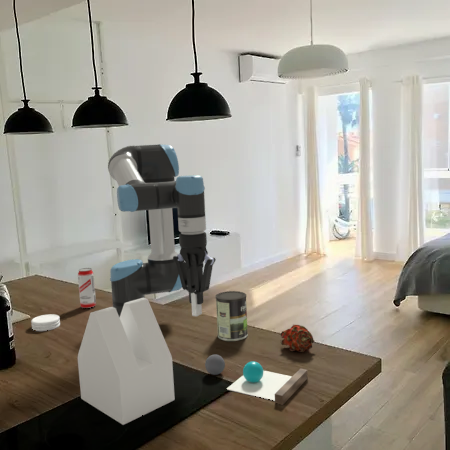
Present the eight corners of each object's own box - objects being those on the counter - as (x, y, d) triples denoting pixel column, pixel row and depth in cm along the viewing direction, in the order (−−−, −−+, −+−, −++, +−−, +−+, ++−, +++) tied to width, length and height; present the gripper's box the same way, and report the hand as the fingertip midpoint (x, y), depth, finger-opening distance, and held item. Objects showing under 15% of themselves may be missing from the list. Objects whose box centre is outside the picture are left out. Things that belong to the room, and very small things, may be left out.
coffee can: (250, 330, 174) (248, 290, 172) (245, 341, 164) (243, 299, 162) (220, 329, 176) (219, 290, 174) (214, 340, 166) (212, 299, 164)
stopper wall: (300, 377, 137) (300, 368, 137) (307, 378, 136) (307, 369, 135) (275, 403, 123) (274, 393, 123) (282, 405, 122) (282, 395, 122)
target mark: (251, 368, 144) (251, 367, 144) (297, 378, 136) (297, 377, 136) (226, 389, 132) (226, 388, 132) (274, 401, 125) (274, 400, 124)
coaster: (54, 331, 182) (53, 322, 182) (27, 332, 182) (26, 323, 182) (64, 322, 192) (63, 313, 192) (38, 323, 192) (37, 314, 192)
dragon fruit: (312, 361, 150) (283, 356, 159) (324, 338, 155) (295, 334, 164) (298, 343, 147) (269, 339, 156) (311, 320, 151) (281, 317, 160)
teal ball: (256, 354, 137) (270, 369, 135) (245, 366, 139) (259, 381, 138) (246, 361, 132) (261, 377, 131) (235, 374, 135) (250, 390, 133)
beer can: (94, 309, 206) (90, 270, 203) (78, 309, 206) (75, 271, 204) (98, 304, 212) (94, 267, 210) (83, 305, 212) (79, 267, 210)
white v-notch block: (174, 400, 128) (168, 305, 124) (123, 425, 117) (114, 321, 113) (131, 378, 141) (124, 291, 137) (81, 399, 130) (72, 305, 127)
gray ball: (225, 350, 141) (230, 369, 142) (210, 351, 145) (215, 370, 145) (214, 358, 137) (219, 378, 137) (199, 359, 140) (204, 378, 140)
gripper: (165, 233, 139) (170, 315, 142) (204, 235, 132) (209, 322, 135) (181, 228, 145) (186, 307, 148) (219, 230, 138) (223, 313, 142)
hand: (197, 314), depth 142 cm, fingers closed
